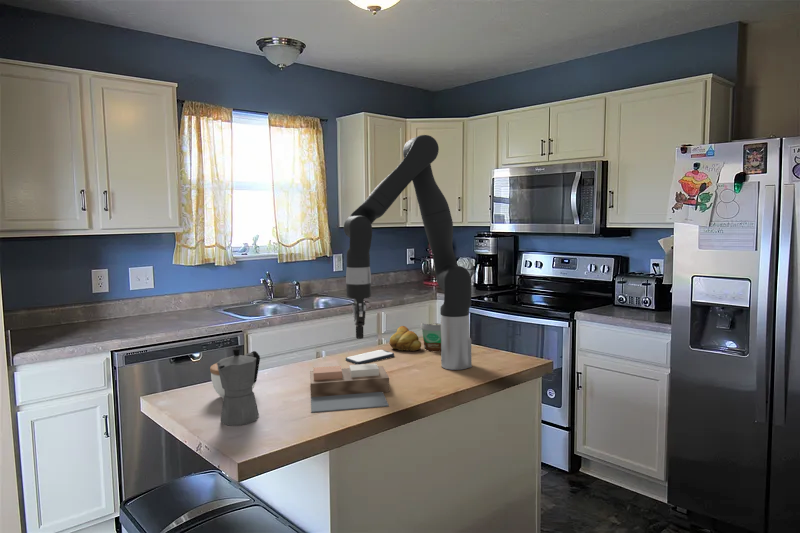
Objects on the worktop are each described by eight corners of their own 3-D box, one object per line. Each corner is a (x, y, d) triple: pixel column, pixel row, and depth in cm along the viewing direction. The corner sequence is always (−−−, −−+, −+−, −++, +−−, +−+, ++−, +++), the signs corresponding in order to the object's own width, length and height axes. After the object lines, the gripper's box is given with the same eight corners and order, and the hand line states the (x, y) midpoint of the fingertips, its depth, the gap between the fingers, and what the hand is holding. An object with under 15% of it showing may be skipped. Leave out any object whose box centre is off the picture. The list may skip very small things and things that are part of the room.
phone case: (358, 366, 185) (395, 357, 195) (357, 362, 185) (395, 353, 195) (344, 361, 192) (381, 353, 202) (343, 357, 192) (381, 348, 202)
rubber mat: (382, 392, 155) (382, 391, 155) (388, 406, 144) (388, 405, 144) (310, 398, 152) (310, 397, 152) (311, 412, 140) (311, 411, 140)
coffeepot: (238, 431, 129) (234, 356, 128) (206, 426, 133) (202, 353, 131) (276, 409, 144) (273, 341, 142) (246, 405, 147) (243, 339, 145)
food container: (418, 352, 200) (417, 325, 200) (420, 348, 207) (420, 321, 206) (452, 352, 198) (451, 325, 198) (453, 348, 204) (453, 322, 204)
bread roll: (427, 349, 204) (426, 328, 203) (407, 354, 197) (407, 332, 197) (403, 344, 213) (403, 324, 213) (384, 348, 207) (384, 328, 206)
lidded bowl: (256, 401, 150) (254, 362, 149) (208, 405, 148) (205, 365, 147) (260, 388, 162) (258, 351, 161) (215, 391, 160) (213, 354, 159)
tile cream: (376, 369, 164) (376, 363, 164) (378, 375, 158) (378, 368, 158) (349, 371, 163) (349, 365, 162) (351, 377, 157) (350, 370, 156)
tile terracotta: (341, 372, 162) (340, 365, 162) (342, 378, 156) (342, 371, 156) (313, 374, 161) (313, 367, 161) (313, 380, 155) (313, 373, 155)
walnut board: (383, 378, 169) (382, 365, 168) (389, 391, 156) (389, 377, 155) (310, 383, 165) (310, 370, 165) (310, 397, 152) (310, 383, 152)
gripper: (373, 283, 160) (374, 342, 162) (368, 279, 173) (369, 333, 175) (347, 284, 159) (349, 343, 161) (344, 279, 172) (345, 334, 174)
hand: (359, 338), depth 168 cm, fingers closed
